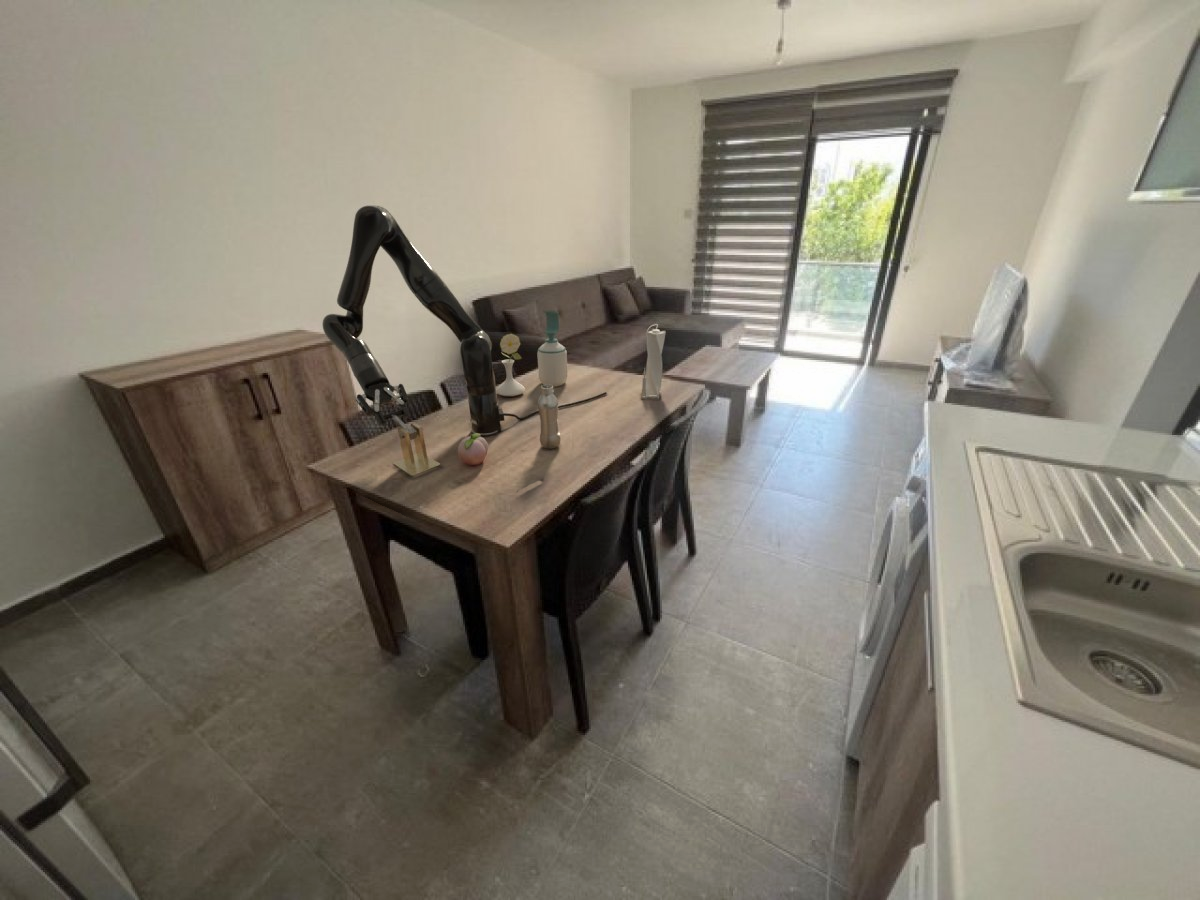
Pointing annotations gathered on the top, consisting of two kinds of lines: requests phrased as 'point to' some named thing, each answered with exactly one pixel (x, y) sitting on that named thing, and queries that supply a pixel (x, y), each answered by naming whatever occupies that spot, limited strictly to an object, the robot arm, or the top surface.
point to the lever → (401, 423)
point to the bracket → (410, 462)
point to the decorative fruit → (473, 449)
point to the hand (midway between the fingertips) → (395, 420)
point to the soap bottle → (552, 354)
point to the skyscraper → (653, 364)
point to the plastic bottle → (548, 418)
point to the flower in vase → (510, 366)
